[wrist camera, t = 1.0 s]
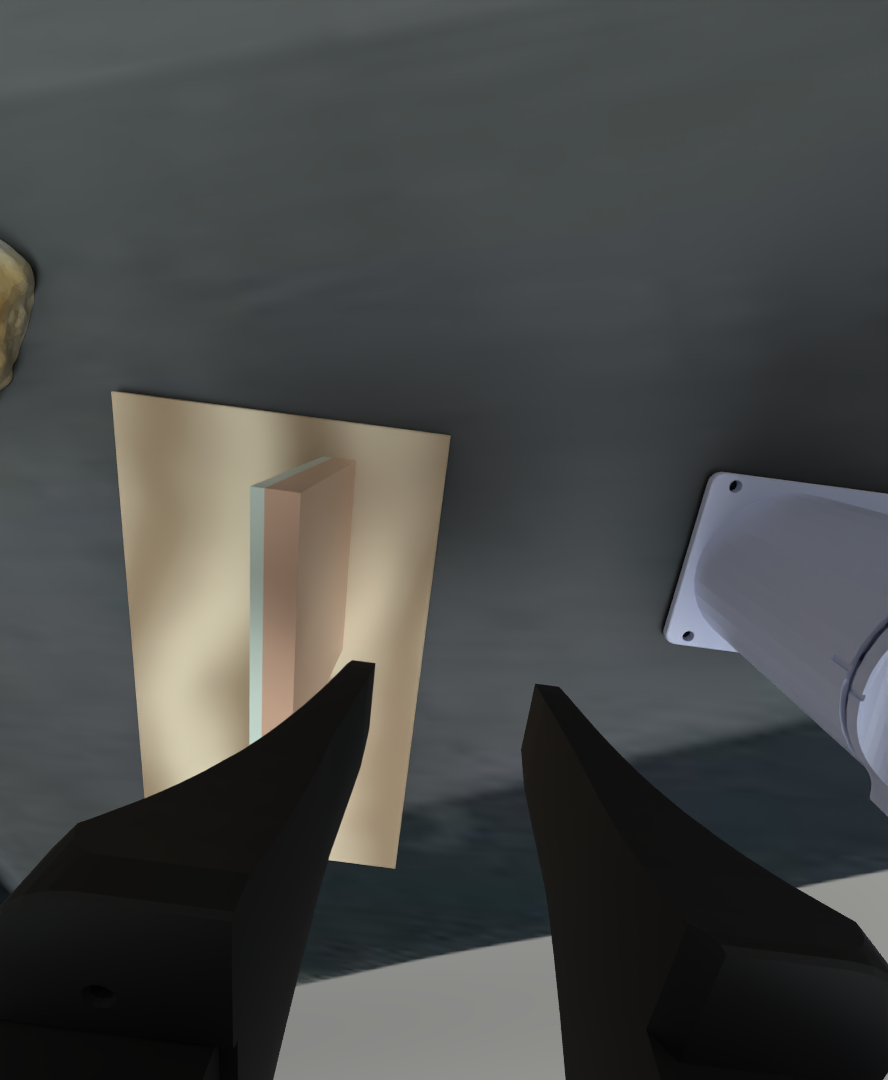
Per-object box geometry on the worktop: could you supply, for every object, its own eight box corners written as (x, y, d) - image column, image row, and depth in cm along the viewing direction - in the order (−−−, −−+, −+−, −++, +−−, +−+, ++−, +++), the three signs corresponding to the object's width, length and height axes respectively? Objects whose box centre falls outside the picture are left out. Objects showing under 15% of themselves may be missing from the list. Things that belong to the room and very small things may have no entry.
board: (450, 435, 19) (450, 436, 19) (396, 858, 27) (395, 868, 26) (121, 391, 19) (111, 391, 19) (154, 827, 26) (147, 836, 26)
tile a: (356, 460, 19) (300, 493, 13) (342, 649, 22) (291, 758, 15) (322, 456, 19) (250, 486, 13) (313, 645, 22) (249, 752, 15)
